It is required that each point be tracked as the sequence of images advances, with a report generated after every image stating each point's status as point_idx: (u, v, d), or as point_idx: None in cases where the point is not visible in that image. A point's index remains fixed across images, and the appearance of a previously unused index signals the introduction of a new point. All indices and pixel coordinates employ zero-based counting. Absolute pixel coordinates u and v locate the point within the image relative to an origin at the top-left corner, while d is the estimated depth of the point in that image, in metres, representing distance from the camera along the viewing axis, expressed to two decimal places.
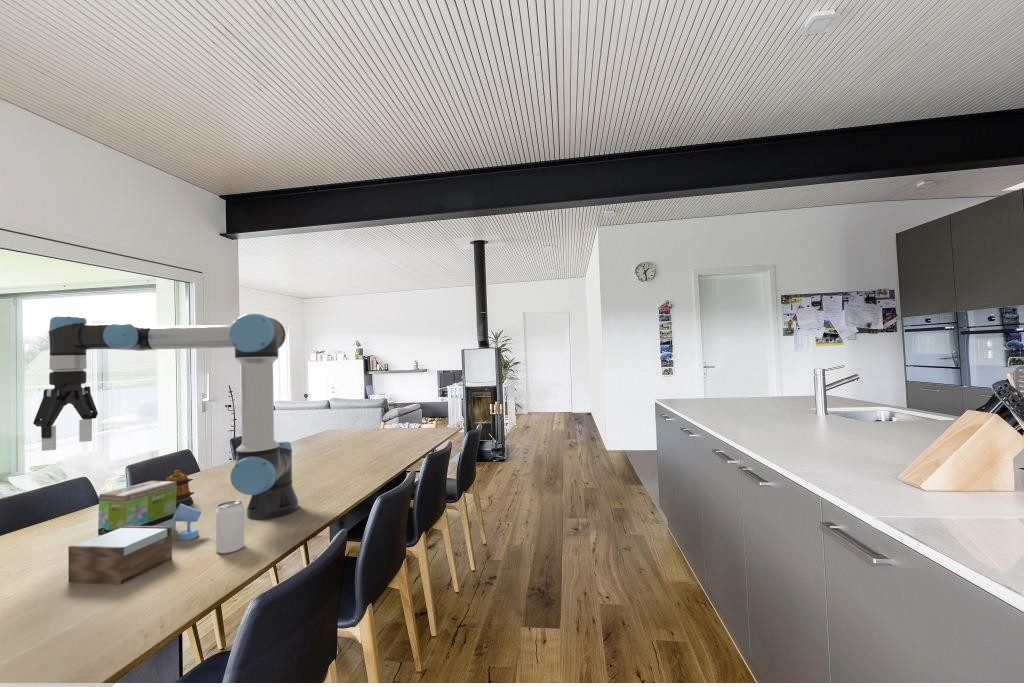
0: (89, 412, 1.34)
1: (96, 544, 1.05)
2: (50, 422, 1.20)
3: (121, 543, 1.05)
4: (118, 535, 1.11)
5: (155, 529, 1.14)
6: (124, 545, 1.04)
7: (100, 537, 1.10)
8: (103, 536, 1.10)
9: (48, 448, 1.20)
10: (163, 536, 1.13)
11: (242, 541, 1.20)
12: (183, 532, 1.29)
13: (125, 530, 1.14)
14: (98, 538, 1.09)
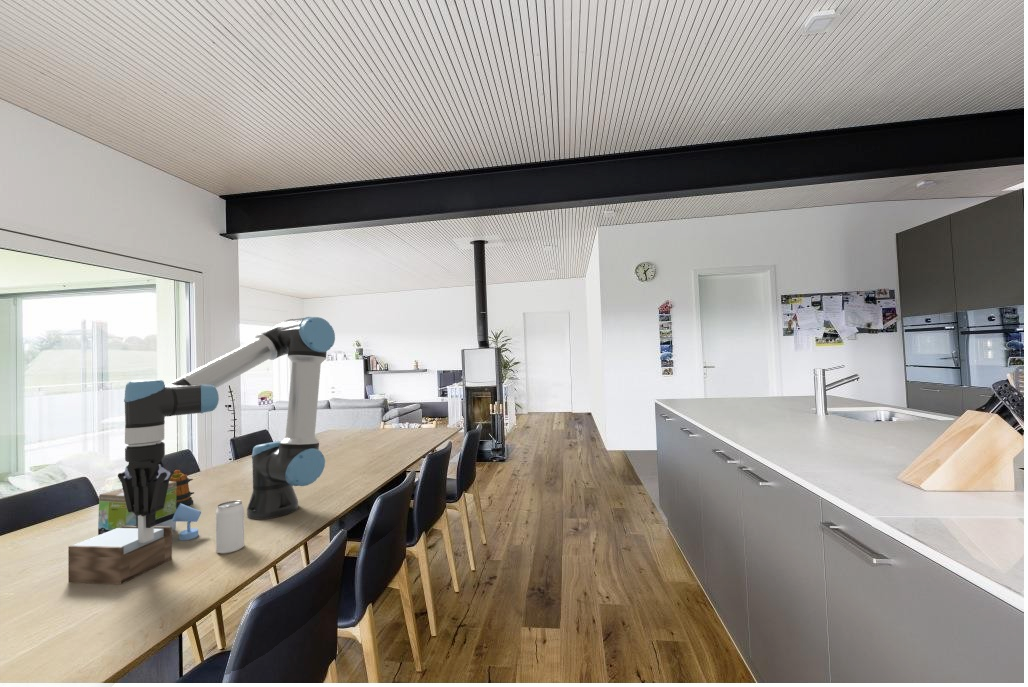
0: (145, 505, 1.08)
1: (92, 544, 1.05)
2: (134, 512, 1.08)
3: (118, 543, 1.05)
4: (114, 535, 1.11)
5: None
6: (121, 545, 1.04)
7: (96, 537, 1.09)
8: (99, 536, 1.10)
9: None
10: (159, 536, 1.13)
11: (242, 541, 1.20)
12: (183, 532, 1.29)
13: (121, 530, 1.14)
14: (94, 538, 1.09)
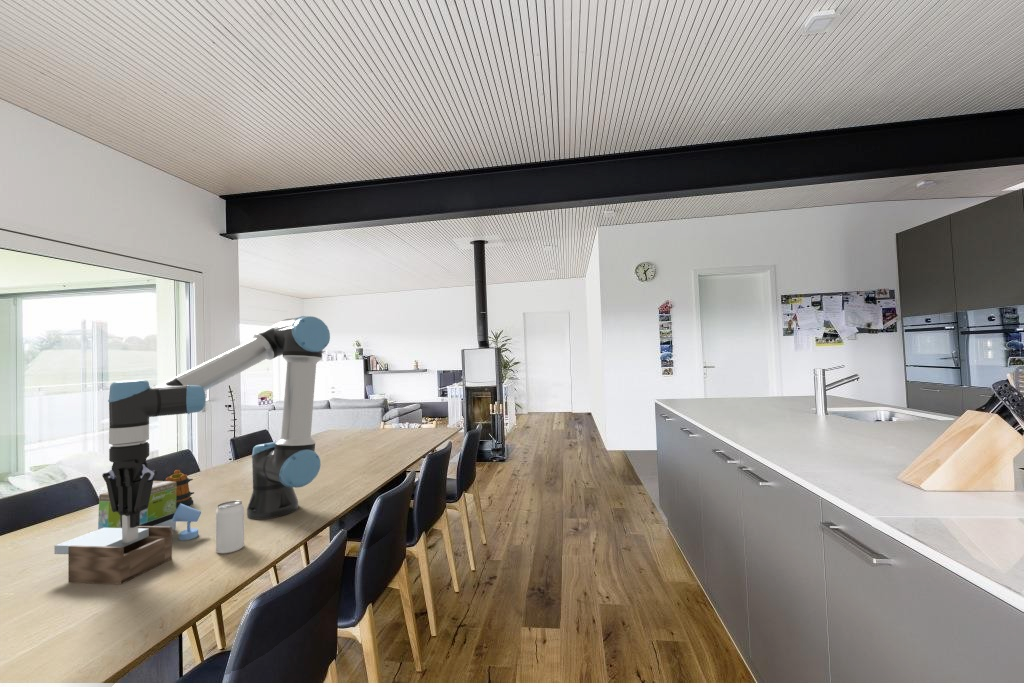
0: (129, 504, 1.08)
1: (76, 544, 1.06)
2: (118, 512, 1.09)
3: (102, 543, 1.06)
4: (99, 534, 1.11)
5: None
6: (104, 545, 1.05)
7: (81, 537, 1.10)
8: (84, 536, 1.11)
9: None
10: (144, 536, 1.14)
11: (242, 541, 1.20)
12: (183, 532, 1.29)
13: (107, 530, 1.15)
14: (79, 538, 1.10)
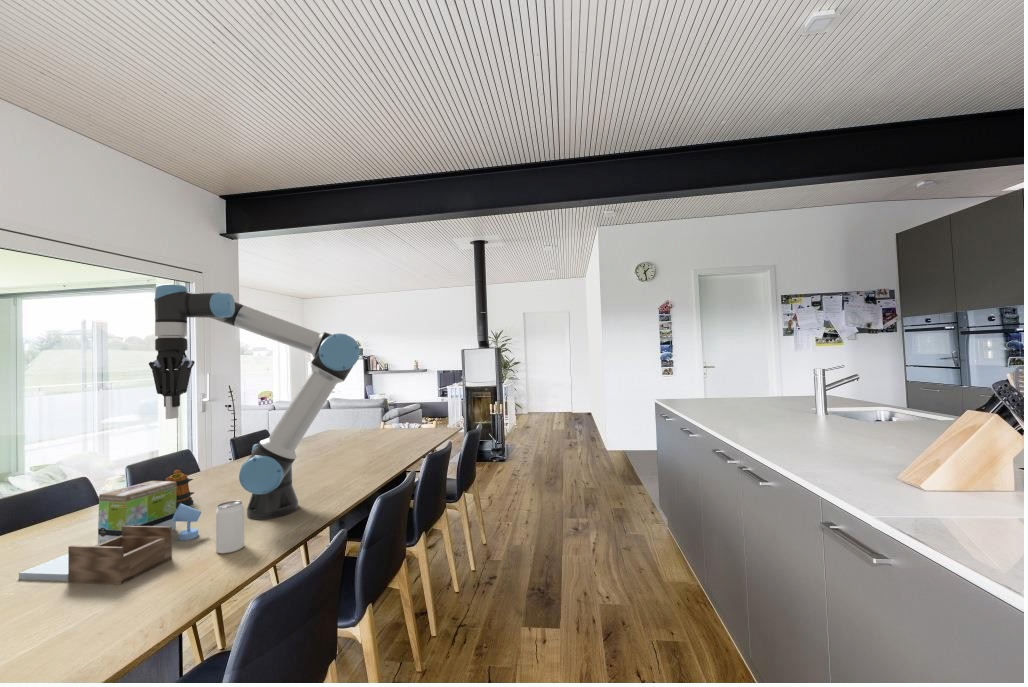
0: (172, 387, 1.29)
1: (41, 571, 1.07)
2: (162, 394, 1.30)
3: (66, 570, 1.07)
4: (65, 561, 1.12)
5: None
6: None
7: (47, 563, 1.11)
8: (50, 562, 1.12)
9: None
10: None
11: (242, 541, 1.20)
12: (183, 532, 1.29)
13: None
14: (45, 564, 1.10)
